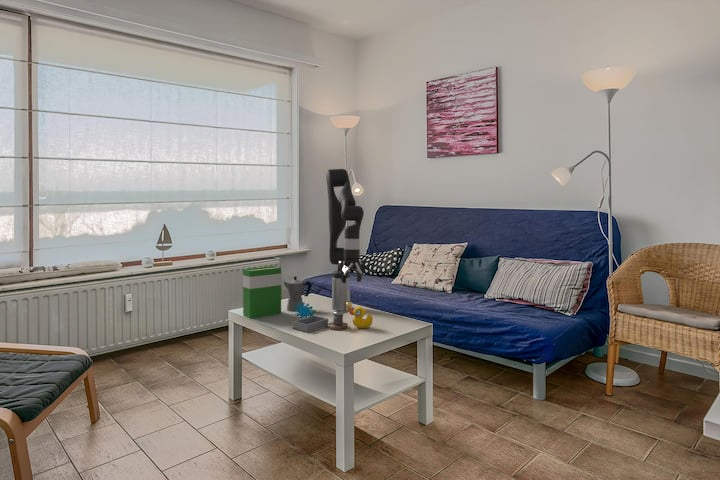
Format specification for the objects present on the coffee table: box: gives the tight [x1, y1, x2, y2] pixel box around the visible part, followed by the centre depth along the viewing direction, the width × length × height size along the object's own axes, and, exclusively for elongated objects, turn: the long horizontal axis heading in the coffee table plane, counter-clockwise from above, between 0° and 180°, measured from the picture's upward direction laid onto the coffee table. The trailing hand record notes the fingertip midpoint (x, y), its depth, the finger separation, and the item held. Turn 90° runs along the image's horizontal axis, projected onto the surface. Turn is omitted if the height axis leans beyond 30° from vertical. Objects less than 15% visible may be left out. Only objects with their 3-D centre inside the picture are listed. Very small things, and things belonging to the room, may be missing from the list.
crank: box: [332, 301, 353, 316], centre depth 227 cm, size 12×4×4 cm, turn 142°
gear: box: [295, 302, 317, 319], centre depth 241 cm, size 11×6×10 cm
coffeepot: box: [282, 276, 313, 313], centre depth 257 cm, size 15×9×18 cm, turn 87°
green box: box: [242, 265, 282, 320], centre depth 245 cm, size 18×7×24 cm, turn 130°
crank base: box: [327, 314, 349, 331], centre depth 224 cm, size 9×9×6 cm
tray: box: [292, 315, 329, 333], centre depth 224 cm, size 14×9×4 cm, turn 142°
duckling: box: [348, 306, 374, 329], centre depth 224 cm, size 11×5×10 cm, turn 83°
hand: (351, 282), depth 228 cm, fingers open, 8 cm apart
